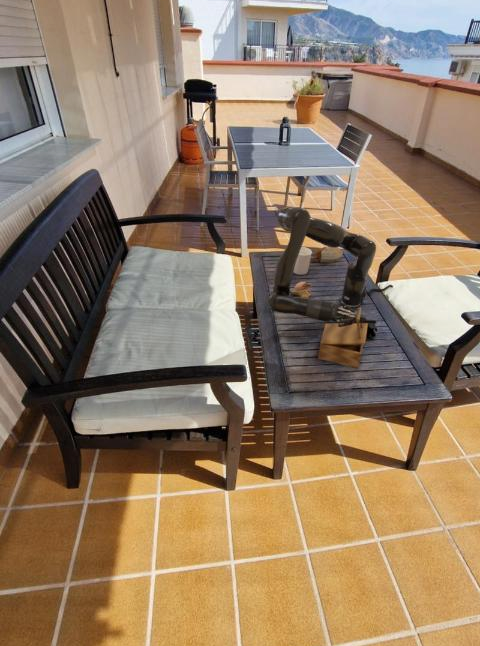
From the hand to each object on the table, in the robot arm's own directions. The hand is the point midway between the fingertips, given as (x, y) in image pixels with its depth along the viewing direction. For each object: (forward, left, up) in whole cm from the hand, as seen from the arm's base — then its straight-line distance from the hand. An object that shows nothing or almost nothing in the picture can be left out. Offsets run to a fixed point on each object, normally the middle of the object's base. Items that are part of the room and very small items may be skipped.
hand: (365, 320), depth 144 cm
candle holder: (-13, -68, -18) cm, 72 cm away
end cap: (-11, -11, -18) cm, 24 cm away
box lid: (+5, -4, -9) cm, 11 cm away
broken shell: (-1, -46, -18) cm, 50 cm away
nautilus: (-32, -75, -18) cm, 84 cm away
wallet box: (+5, -4, -18) cm, 19 cm away
